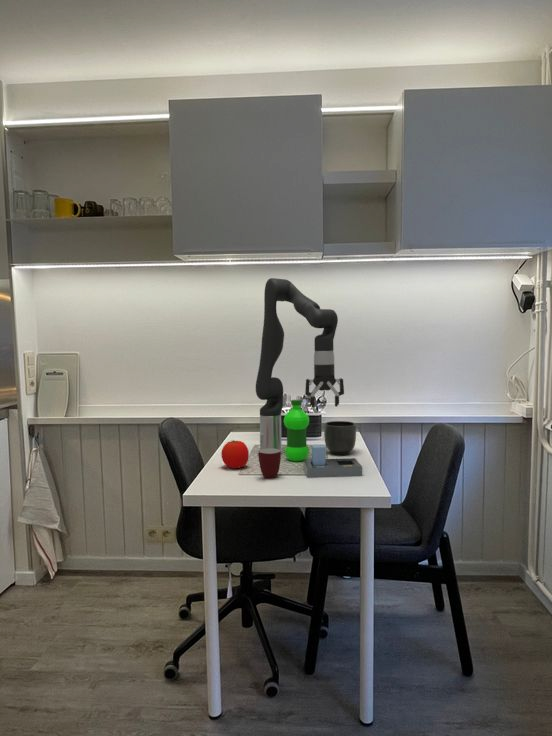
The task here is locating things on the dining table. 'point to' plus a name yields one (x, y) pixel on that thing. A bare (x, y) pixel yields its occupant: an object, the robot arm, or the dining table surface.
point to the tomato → (235, 454)
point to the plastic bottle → (296, 432)
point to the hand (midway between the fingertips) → (324, 406)
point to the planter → (340, 436)
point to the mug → (269, 462)
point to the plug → (318, 455)
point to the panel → (333, 468)
